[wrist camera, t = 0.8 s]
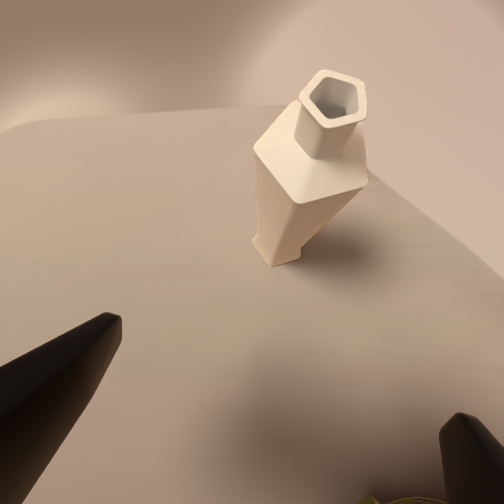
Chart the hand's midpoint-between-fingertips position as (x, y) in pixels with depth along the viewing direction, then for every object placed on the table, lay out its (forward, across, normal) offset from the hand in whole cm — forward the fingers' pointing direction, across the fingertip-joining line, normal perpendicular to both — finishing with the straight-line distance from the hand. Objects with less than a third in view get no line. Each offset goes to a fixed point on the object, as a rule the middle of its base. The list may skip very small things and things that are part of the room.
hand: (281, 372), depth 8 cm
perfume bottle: (+16, 0, +5) cm, 16 cm away
